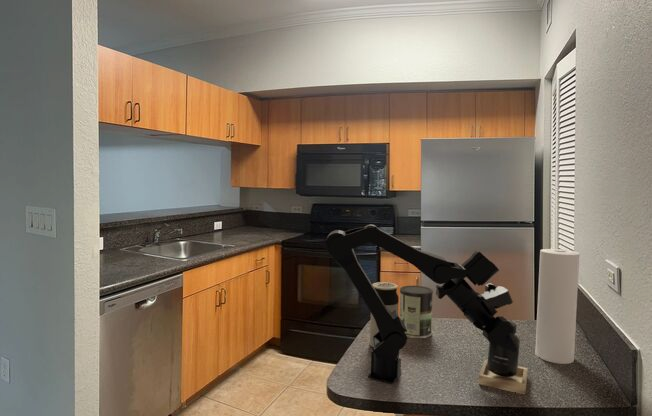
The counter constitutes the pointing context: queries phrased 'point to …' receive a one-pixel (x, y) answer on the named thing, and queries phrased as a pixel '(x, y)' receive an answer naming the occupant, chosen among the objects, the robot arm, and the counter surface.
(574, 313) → the paper towel roll
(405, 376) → the counter surface
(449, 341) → the counter surface
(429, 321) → the coffee can
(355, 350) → the counter surface
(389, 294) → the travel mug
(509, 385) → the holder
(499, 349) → the supplement bottle
